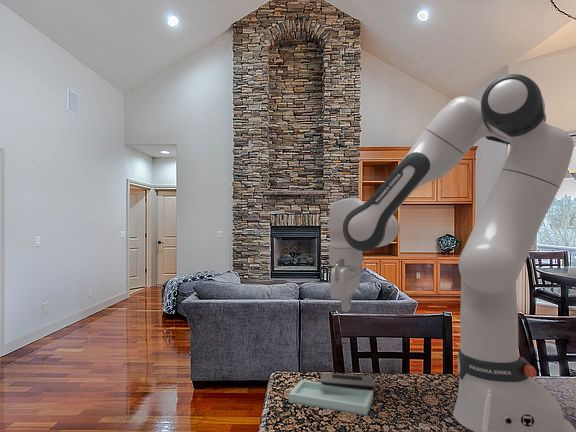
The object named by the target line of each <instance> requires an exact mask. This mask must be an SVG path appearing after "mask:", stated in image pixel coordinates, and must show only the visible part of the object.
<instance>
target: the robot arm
mask: <svg viewBox="0 0 576 432" xmlns="http://www.w3.org/2000/svg"><path fill="white" fill-rule="evenodd" d="M482 138H485V139H486V140H488V141H492V142H496V143H501V144H505V145H510V149H509V152H508V155H507V158H506V160H505V162H504V164H503V166H502V168H501V170H500V171H499V174H498V176H497V178H496V181H495V182H494V184H493V187H492V189H491V191H490V193H489V195H488V197H487V199H486V202H485V203H484V206H483V208H482V210H481V212H480V214H479V216H478V218H477V220H476V221H475V224H474V226H473V228H472V230H471V233H470V234H469V236H468V238H467V241H466V243H465V245H464V247H463V249H462V252H461V253H460V255H459V257H458V271H459V275H460V310H459V311H460V312H459V315H460V316H459V318H460V320H459V322H460V324H459V325H460V328H459V329H460V330H459V331H460V348H459V349H458V356H457V374H458V377H459V384H458V391H457V395H456V396H457V397H456V401H455V405H454V408H453V411H452V415H453V418H454V419H455V420H456V421H457V422H458V423H459V424H460V425H461V426H463V427H464V428H466V429H467V430H470V431H472V432H576V429H575V427H574V426H573V425H572V423H571V422H569V420H567V419H566V418H565V417H564V412H563V409H562V406H561V405H560V403H559V402H558V400H557V399H556V397H555V396H554V395H553V394H552V393H551V392H550V391H549V390H547V389H546V388H544V387H543V386H542V385H541V384H540V383H538V382H537V381H536V380H535V379H533V378H535V377H536V376H537V370H536V368H535V367H534V366H533V365H531V363H530V362H529V361H528V360H526V359H525V358H524V357H523V356H520V355H519V315H518V299H517V281H518V279H519V276H520V274H521V271H522V270H523V267H524V266H525V263H526V261H527V259H528V256H529V254H530V252H531V250H532V247H533V245H534V243H535V240H536V238H537V235H538V232H539V229H540V227H541V226H542V223H543V221H544V219H545V217H546V215H547V213H548V211H549V209H550V208H551V205H552V204H553V201H554V199H555V197H556V196H557V193H558V192H559V190H560V187H561V186H562V183H563V182H564V179H565V177H566V174H567V173H568V172H567V171H568V169H569V166H570V163H571V160H572V157H573V156H572V155H573V154H574V153H573V152H574V149H575V142H574V139H573V138H572V136H571V134H569V132H567V131H565V130H564V129H562V128H560V127H556V126H554V125H550V124H548V123H547V116H546V103H545V100H544V97H543V95H542V90H541V89H540V87H539V86H538V84H537V83H536V81H534V80H533V79H531V78H530V77H528V76H526V75H523V74H517V73H513V74H512V73H511V74H506V75H502V76H500V77H498V78H497V79H495V80H493V81H492V82H491V83H490V84H489V85H488V86H487V88H486V89H485V90H484V92H483V94H482V96H481V100H477V99H476V98H474V97H471V96H466V95H464V96H463V95H461V96H456V97H454V98H453V99H452V100H450V101H449V102H448V103H447V104H446V105H445V106H444V107H443V108H441V110H440V111H439V112H438V113H437V114H436V115H435V116H434V117H433V118H432V119H431V121H430V122H429V123H428V124H427V126H426V127H425V129H423V131H422V132H421V134H420V135H419V136H418V138H417V139H416V141H415V142H414V143H413V145H412V146H411V148H410V149H409V150H408V152H407V153H406V154H405V156H404V157H403V158H402V160H400V163H399V164H398V165H397V166H396V167H395V168H394V169H393V171H392V172H391V173H390V174H389V175H388V176H387V178H386V179H385V180H384V181H383V182H382V184H381V185H380V186H379V187H378V188H377V189H376V191H375V192H374V193H373V194H372V195H371V197H369V199H367V201H365V202H364V201H362V200H361V199H360V198H358V197H356V196H348V197H342V198H338V199H336V200H334V201H333V202H331V204H330V208H329V214H328V233H329V234H328V235H329V238H330V239H329V245H328V265H330V266H333V268H331V270H330V271H331V272H330V279H329V281H330V283H329V295H330V298H331V300H339V301H340V303H341V304H340V305H341V311H342V312H345V313H348V312H349V311H350V310H351V308H352V303H351V302H352V298H353V293H354V292H355V291H357V290H358V289H359V288H360V284H361V276H362V275H361V274H362V266H363V263H364V255H363V252H368V251H371V250H374V249H375V248H376V249H377V248H381V247H384V246H387V245H389V244H391V243H393V242H394V241H395V240H396V239H397V237H398V236H399V233H400V224H399V220H398V219H397V217H396V216H395V215H394V214H395V213H396V212H397V211H398V209H400V207H401V206H402V204H403V203H404V202H405V201H406V200H408V198H409V196H410V195H411V194H412V193H413V192H415V190H417V189H418V188H420V187H421V186H423V185H424V184H427V183H429V182H430V183H431V182H432V181H436V180H439V179H441V178H444V177H445V176H446V175H447V174H449V173H450V172H451V171H452V170H453V169H454V168H455V167H456V166H458V165H459V163H460V162H461V161H462V160H463V159H464V157H465V156H466V155H467V153H468V152H469V151H470V149H472V147H473V146H474V145H475V144H476V143H477V142H479V140H481V139H482Z"/></svg>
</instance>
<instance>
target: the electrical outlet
mask: <svg viewBox="0 0 576 432" xmlns="http://www.w3.org/2000/svg"><path fill="white" fill-rule="evenodd" d="M320 382H321V383H322V384H324V385H332V386H344V387H354V388H360V389H369V390H371V389H372V390H373V389H375V388H376V386H377V385H376V383H375V381H374V379H373V377H372V376H370V375H357V374H345V373H343V374H341V373H334V372H333V373H331V372H321V378H320Z"/></svg>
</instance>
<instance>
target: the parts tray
mask: <svg viewBox="0 0 576 432" xmlns="http://www.w3.org/2000/svg"><path fill="white" fill-rule="evenodd" d="M373 401H374V390H373V389H372V390H371V389H368V388H364V389H360V388H354V387H344V386H332V385H324V384H322V383H321V381H320V382H319V381H312V380H307V379H300V380H299V382H298V383H297V384H296V385H295V386H294V387H293V388H292V390H290V392H289V393H288V403H290V404H294V405H295V404H296V405H302V406H308V407H313V408H320V409H326V410H331V411H336V412H343V413H348V414H353V415H358V416H359V415H360V416H366V417H367V416H368V414H369V411H370V409H371V407H372V403H373Z"/></svg>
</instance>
